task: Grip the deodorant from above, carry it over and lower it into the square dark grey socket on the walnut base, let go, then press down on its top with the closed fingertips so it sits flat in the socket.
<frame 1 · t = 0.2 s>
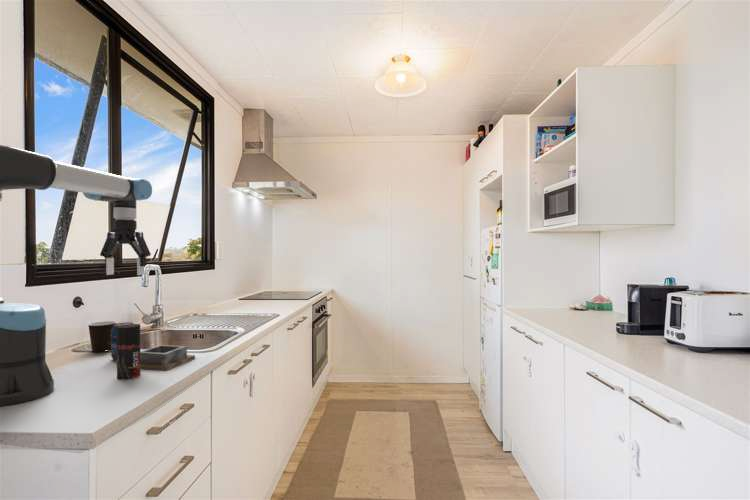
hand: (125, 274, 153), 28 cm above the worktop, tool pointing down, fingers open, 13 cm apart
soda can: (123, 359, 137), on the worktop
socket: (162, 362, 132), on the worktop
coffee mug: (106, 349, 150), on the worktop
deodorant: (128, 376, 118), on the worktop
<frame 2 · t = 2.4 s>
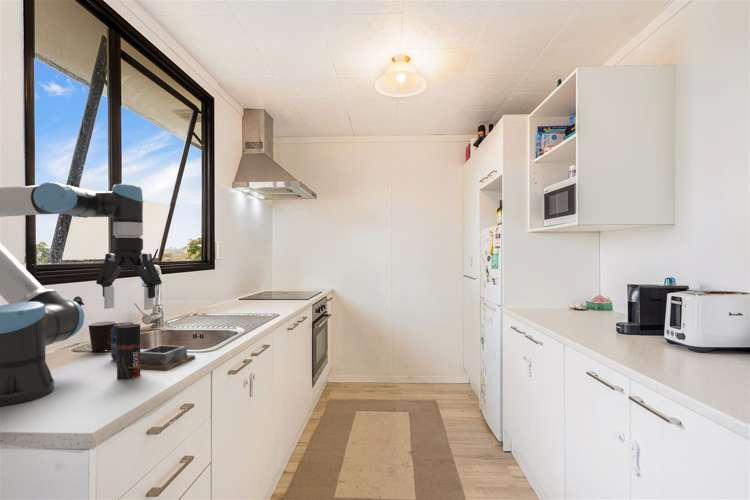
hand: (128, 308, 118), 20 cm above the worktop, tool pointing down, fingers open, 13 cm apart
nothing on the worktop moved.
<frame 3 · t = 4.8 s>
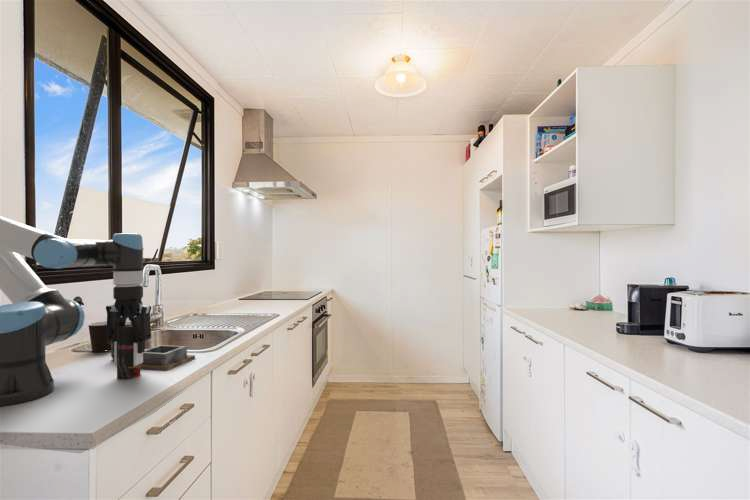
hand: (128, 363, 118), 4 cm above the worktop, tool pointing down, fingers closed on deodorant, 6 cm apart
deodorant: (128, 376, 118), on the worktop, touching gripper
everything else where it was.
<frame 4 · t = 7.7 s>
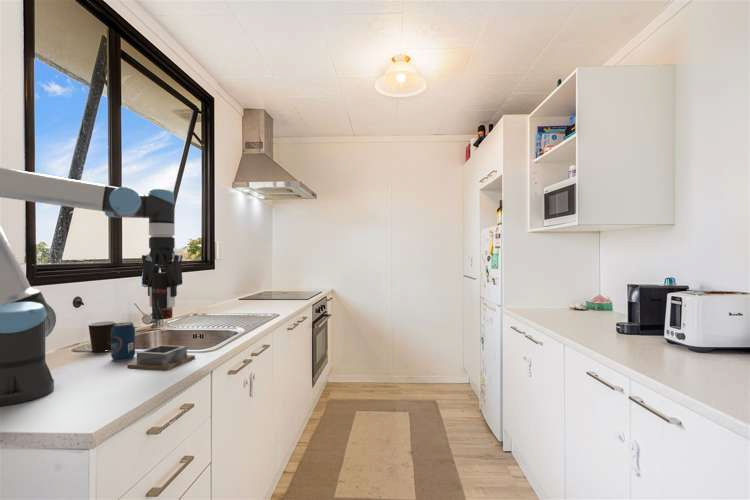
hand: (162, 306, 132), 19 cm above the worktop, tool pointing down, fingers closed on deodorant, 6 cm apart
deodorant: (162, 318, 132), point 15 cm above the worktop, touching gripper
everything else where it was.
when the fingers open (7 cm above the worktop, at t = 10.5 s): deodorant drops 2 cm, resting on socket.
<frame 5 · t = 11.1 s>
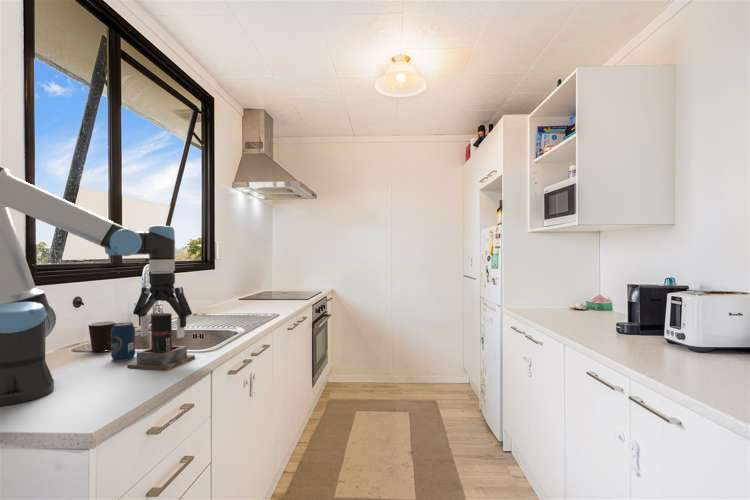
hand: (162, 336, 132), 9 cm above the worktop, tool pointing down, fingers open, 13 cm apart
deodorant: (161, 360, 132), point 1 cm above the worktop, touching socket
everything else where it was.
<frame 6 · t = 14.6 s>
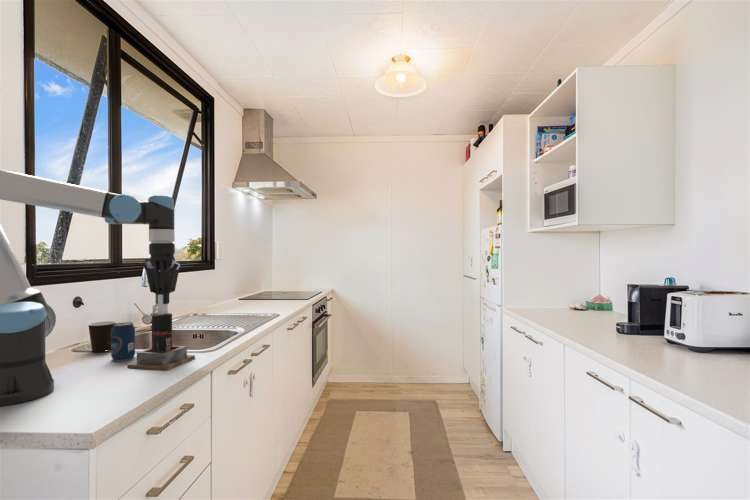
hand: (162, 313, 132), 16 cm above the worktop, tool pointing down, fingers closed
deodorant: (161, 360, 132), point 1 cm above the worktop, touching gripper, socket
everything else where it was.
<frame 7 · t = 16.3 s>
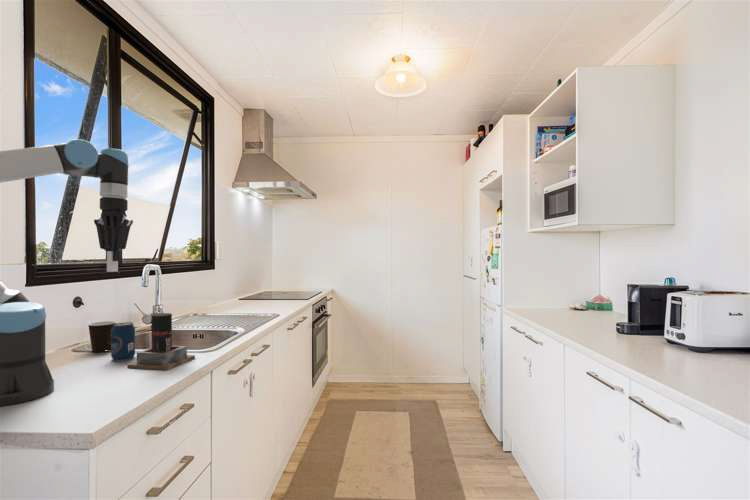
hand: (112, 271, 128), 31 cm above the worktop, tool pointing down, fingers closed
deodorant: (161, 360, 132), point 1 cm above the worktop, touching socket
everything else where it was.
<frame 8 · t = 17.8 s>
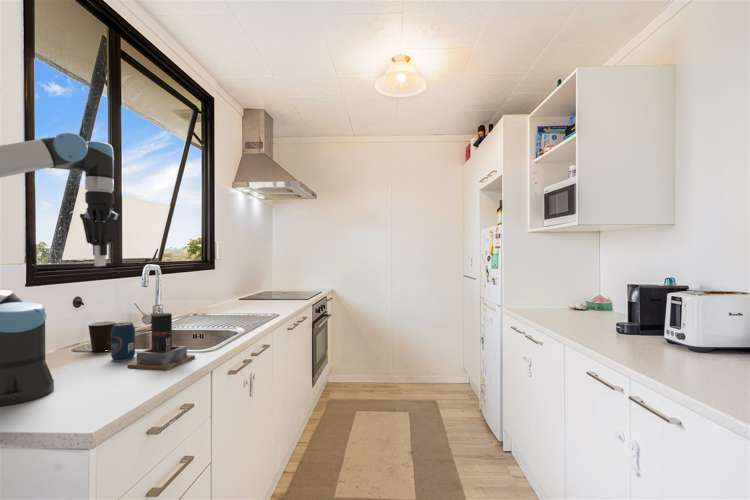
hand: (100, 265, 127), 32 cm above the worktop, tool pointing down, fingers closed
nothing on the worktop moved.
at the end: deodorant 0.2 cm off-centre on the socket, point 0.8 cm above the socket's base; deodorant tilted 0°; the gripper is holding nothing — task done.
